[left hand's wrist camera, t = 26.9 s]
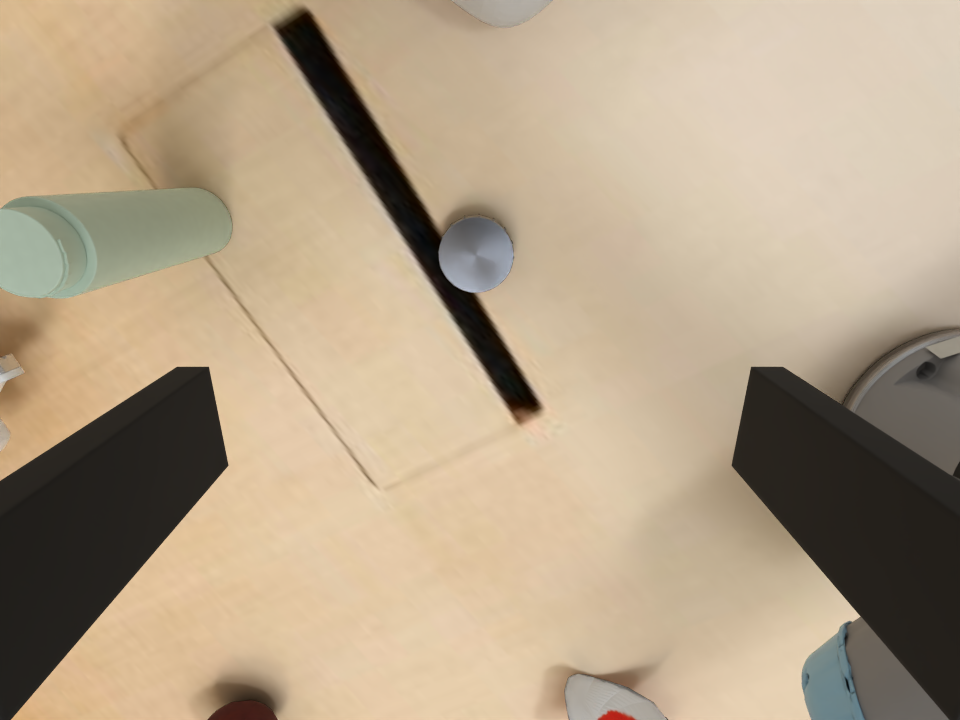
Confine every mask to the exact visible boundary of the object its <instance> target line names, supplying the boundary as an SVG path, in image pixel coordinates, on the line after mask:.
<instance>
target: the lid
mask: <svg viewBox="0 0 960 720" xmlns="http://www.w3.org/2000/svg"><path fill="white" fill-rule="evenodd" d="M441 238H442V240H441V243H440V247H439V250H438V252H439V262H440V267H441V269H442V271H443V273H444V275H445V276H446V278H447V279H448V280H449V281H450V282H451V283H452V284H453V285H455V286H456V287H458V288H460V289H462V290H464V291H468V292H475V293H476V292H485V291H488V290H491V289H493V288H495V287H496V286H498V285H499V284H501V283H502V282H503V280H504V279H505V278H506V277H507V275H508V274H509V273H510V270H511V267H512V264H513V259H514V254H513V246H512V244H513V242H512V240H510V238H509V236H508V234H507V232H506V229H505V227H504V228H503V227H502V226H501V225H500V224H499V223H498V222H497V221H495V220H494V218H489V217H486V216H482V215H480V214H478V215H471V216H464V217H463V218H461V219H459V220H457V221H456V222H454V223H451V225H450V227H449V228H448V230H447V231H446V233H445V234H443V236H442V237H441Z"/></svg>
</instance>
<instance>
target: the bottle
mask: <svg viewBox="0 0 960 720" xmlns="http://www.w3.org/2000/svg"><path fill="white" fill-rule="evenodd" d="M231 234H232V221H231V217H230V214H229V212H228V210H227V208H226V206H225V205H224V204H223V202H222V201H221V200H220V199H219V198H218V197H217V196H215V195H214V194H212V193H211V192H209V191H207V190H204V189H201V188H174V189H155V190H137V191H119V192H101V193H83V194H65V195H47V196H28V197H21V198H17V199H14V200H12V201H10V202H9V203H7V204H6V205H4V206H3V207H2V208H1V209H0V288H2V289H4V290H5V291H7V292H10V293H12V294H15V295H18V296H23V297H32V298H44V297H50V298H70V297H74V296H77V295H80V294H83V293H87V292H90V291H93V290H96V289H100V288H103V287H106V286H109V285H113V284H116V283H119V282H122V281H126V280H129V279H132V278H135V277H139V276H142V275H145V274H148V273H152V272H155V271H158V270H161V269H165V268H168V267H171V266H174V265H178V264H181V263H184V262H188V261H191V260H194V259H197V258H201V257H204V256H207V255H210V254H214V253H216V252H218V251H220V250H222V249H223V248H224V247H225V246H226V245H227V243H228V242H229V240H230V237H231Z"/></svg>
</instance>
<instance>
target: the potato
mask: <svg viewBox="0 0 960 720" xmlns="http://www.w3.org/2000/svg"><path fill="white" fill-rule="evenodd" d="M208 720H277V718H276V716H275V714H274V713H273V711H272V710H271V709H270V708H269V707H268V706H266V705H265V704H263V703H260V702H256V701H252V700H248V701H239V702H231V703H229V704H227V705H225V706H223V707H222V708H220V709H218V710H217V711H216V712H215V713H214V714H213V715H211V717H210V718H209V719H208Z"/></svg>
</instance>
